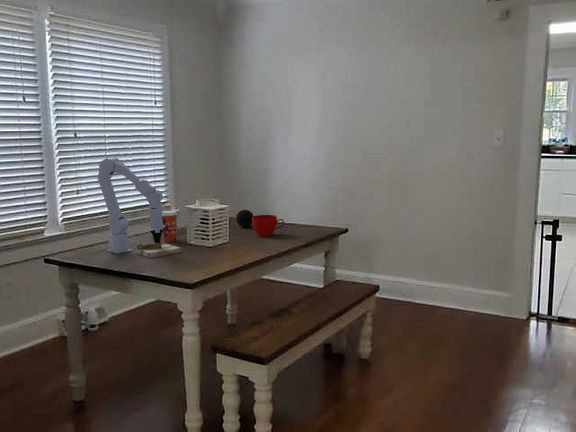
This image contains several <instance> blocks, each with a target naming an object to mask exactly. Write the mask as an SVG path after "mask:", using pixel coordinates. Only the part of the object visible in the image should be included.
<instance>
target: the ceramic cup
mask: <svg viewBox="0 0 576 432" xmlns="http://www.w3.org/2000/svg"><path fill="white" fill-rule="evenodd" d="M280 221H282V224H281V225H280V226H278V227H276V226H277V224H278V222H280ZM284 224H285V220H284V219H282V218H278V219H277V215H274V214H258V215H253V217H252V227H253V229H254V232H255V233H256V234H257V236H259V237H271V236H272V235H273V233H274V232H275V230H280V229H281V228H282V227H283V226H284Z"/></svg>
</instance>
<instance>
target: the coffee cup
mask: <svg viewBox="0 0 576 432" xmlns="http://www.w3.org/2000/svg"><path fill="white" fill-rule="evenodd" d="M177 216H178V213H177V211H176V210H162V221H163V225H165V227H163V228H162V229H163V233H162V234H163V240H164V242H165V243H170V242H171V243H172V242H176V241H177V233H178V232H177V231H178V230H177V227H178V225H177V224H178V223H177V222H178V221H177V220H178V217H177Z"/></svg>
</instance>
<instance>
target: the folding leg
mask: <svg viewBox="0 0 576 432" xmlns="http://www.w3.org/2000/svg"><path fill="white" fill-rule="evenodd" d="M161 244H162V242H160V243H154V242H152V243H150V242H149V243H142V242H137V243H136V249H150V248H162V245H161Z"/></svg>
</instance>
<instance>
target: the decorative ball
mask: <svg viewBox="0 0 576 432" xmlns="http://www.w3.org/2000/svg"><path fill="white" fill-rule="evenodd" d="M253 216H254V214H253V213H252V212H251V210H250V209H249V210H248V209H242V210H240V211H238V213H236V217H235V219H236V223H237V225H238V226H240V227H242V228H249V227H251V226H253V223H252V217H253Z"/></svg>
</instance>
